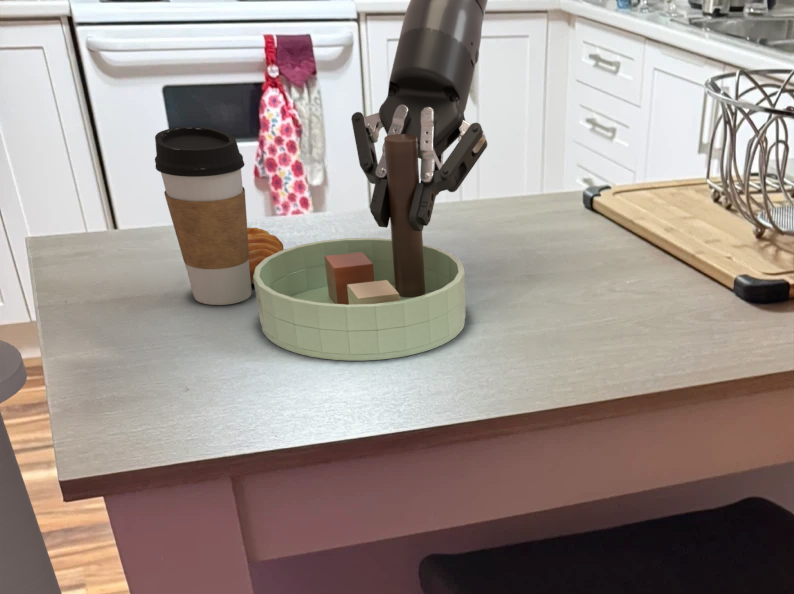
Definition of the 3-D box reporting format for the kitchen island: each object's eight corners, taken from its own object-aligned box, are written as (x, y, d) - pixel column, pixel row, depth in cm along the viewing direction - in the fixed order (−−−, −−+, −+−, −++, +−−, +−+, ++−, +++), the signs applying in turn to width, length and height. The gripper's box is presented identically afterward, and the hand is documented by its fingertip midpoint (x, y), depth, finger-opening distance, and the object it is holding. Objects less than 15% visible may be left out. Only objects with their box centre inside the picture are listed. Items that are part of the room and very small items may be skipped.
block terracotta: (338, 309, 105) (333, 267, 103) (328, 296, 108) (324, 255, 106) (376, 304, 107) (373, 263, 104) (366, 291, 109) (362, 251, 107)
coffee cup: (235, 276, 114) (210, 121, 104) (279, 296, 109) (257, 136, 100) (166, 293, 109) (132, 133, 99) (208, 315, 105) (178, 150, 95)
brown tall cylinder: (400, 299, 104) (389, 142, 94) (391, 289, 106) (380, 135, 97) (429, 295, 105) (421, 140, 95) (420, 286, 107) (411, 132, 97)
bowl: (285, 373, 95) (277, 317, 91) (244, 299, 109) (236, 249, 105) (493, 344, 101) (493, 291, 97) (429, 278, 115) (427, 230, 111)
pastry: (294, 286, 112) (289, 248, 109) (230, 292, 110) (224, 254, 108) (283, 258, 119) (278, 223, 116) (222, 264, 117) (216, 227, 114)
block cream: (361, 340, 99) (357, 298, 97) (350, 326, 102) (346, 284, 99) (402, 335, 100) (399, 293, 98) (390, 321, 103) (387, 279, 101)
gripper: (355, 19, 98) (314, 194, 97) (497, 29, 95) (456, 210, 94) (382, 75, 105) (344, 238, 104) (515, 85, 102) (477, 253, 101)
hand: (397, 224), depth 99 cm, fingers closed on brown tall cylinder, 3 cm apart
